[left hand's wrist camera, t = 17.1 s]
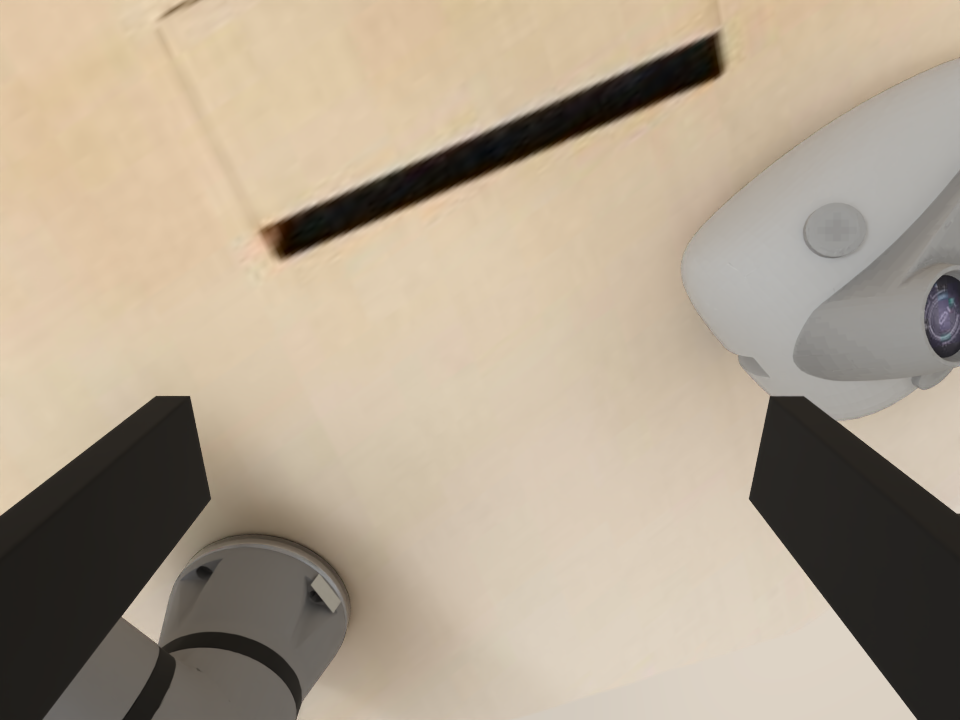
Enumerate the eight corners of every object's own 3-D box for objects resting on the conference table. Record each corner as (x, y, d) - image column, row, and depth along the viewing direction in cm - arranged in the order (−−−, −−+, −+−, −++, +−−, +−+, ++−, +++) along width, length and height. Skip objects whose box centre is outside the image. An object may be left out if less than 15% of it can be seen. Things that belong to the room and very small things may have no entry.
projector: (955, 380, 42) (1183, 492, 29) (653, 392, 43) (735, 508, 29) (1050, 50, 34) (1427, -13, 21) (677, 68, 35) (806, 18, 21)
